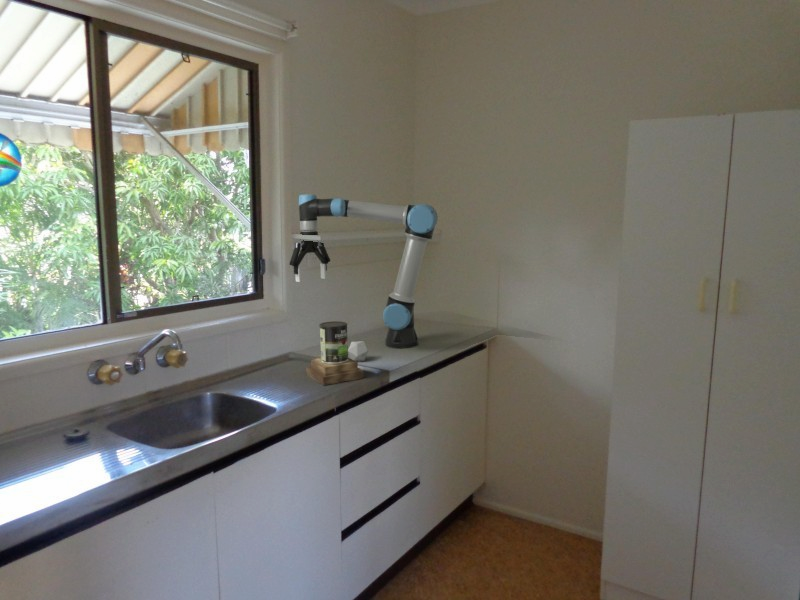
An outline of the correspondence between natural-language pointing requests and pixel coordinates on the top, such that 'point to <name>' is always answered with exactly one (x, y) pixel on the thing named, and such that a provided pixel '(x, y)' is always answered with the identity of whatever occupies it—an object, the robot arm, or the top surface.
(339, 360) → the coffee can
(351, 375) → the tower base
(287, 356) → the top surface
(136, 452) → the top surface
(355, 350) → the die
